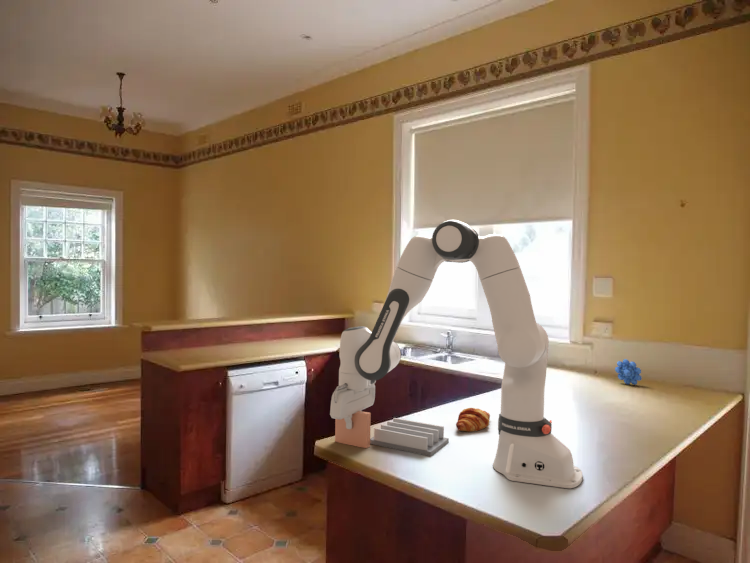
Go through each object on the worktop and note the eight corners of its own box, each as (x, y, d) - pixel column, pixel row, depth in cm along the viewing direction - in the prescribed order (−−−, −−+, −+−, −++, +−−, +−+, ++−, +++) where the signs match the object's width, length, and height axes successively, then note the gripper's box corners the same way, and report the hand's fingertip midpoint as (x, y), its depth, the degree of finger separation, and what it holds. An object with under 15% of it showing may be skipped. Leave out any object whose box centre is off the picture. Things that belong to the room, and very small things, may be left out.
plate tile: (370, 446, 155) (370, 412, 154) (366, 448, 153) (367, 414, 153) (338, 439, 160) (339, 407, 160) (335, 441, 158) (335, 408, 158)
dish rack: (448, 442, 160) (448, 426, 160) (430, 456, 148) (431, 439, 148) (390, 431, 170) (390, 416, 169) (368, 443, 157) (369, 427, 157)
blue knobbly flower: (612, 384, 249) (613, 359, 249) (615, 381, 254) (616, 357, 254) (639, 387, 242) (640, 362, 242) (642, 385, 248) (643, 360, 247)
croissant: (480, 428, 187) (471, 406, 189) (504, 419, 182) (494, 397, 184) (451, 441, 170) (441, 417, 172) (476, 432, 165) (466, 408, 167)
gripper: (344, 388, 145) (343, 438, 146) (379, 376, 163) (378, 420, 164) (325, 385, 148) (324, 434, 149) (361, 373, 166) (360, 417, 167)
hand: (352, 426), depth 156 cm, fingers closed on plate tile, 2 cm apart
